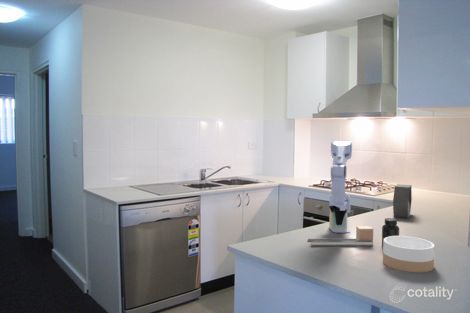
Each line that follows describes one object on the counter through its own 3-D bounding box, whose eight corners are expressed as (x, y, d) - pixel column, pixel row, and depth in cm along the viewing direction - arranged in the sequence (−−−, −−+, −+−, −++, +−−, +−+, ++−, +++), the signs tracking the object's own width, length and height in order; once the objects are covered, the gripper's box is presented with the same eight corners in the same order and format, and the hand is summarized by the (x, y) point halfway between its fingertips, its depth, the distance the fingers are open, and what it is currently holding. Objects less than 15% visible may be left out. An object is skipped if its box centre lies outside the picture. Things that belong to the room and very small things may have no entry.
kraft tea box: (329, 227, 167) (329, 211, 166) (342, 227, 167) (343, 211, 166) (331, 229, 162) (332, 213, 162) (345, 229, 162) (346, 213, 162)
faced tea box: (356, 242, 167) (356, 226, 167) (369, 242, 167) (369, 226, 167) (359, 244, 163) (359, 228, 162) (373, 244, 163) (373, 228, 163)
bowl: (390, 253, 152) (391, 233, 151) (438, 263, 141) (439, 241, 140) (376, 265, 139) (376, 242, 138) (427, 276, 128) (428, 252, 127)
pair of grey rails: (307, 240, 169) (308, 236, 168) (365, 240, 169) (366, 236, 169) (311, 246, 161) (311, 241, 160) (372, 246, 161) (372, 241, 161)
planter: (407, 212, 206) (410, 178, 214) (391, 210, 210) (395, 177, 218) (409, 223, 219) (412, 191, 227) (394, 222, 223) (398, 190, 231)
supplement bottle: (384, 243, 165) (385, 216, 164) (401, 246, 160) (402, 218, 159) (379, 247, 159) (380, 219, 158) (396, 250, 155) (397, 221, 154)
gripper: (352, 195, 156) (352, 227, 157) (342, 190, 171) (341, 219, 172) (335, 195, 156) (335, 227, 157) (326, 190, 171) (326, 219, 172)
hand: (337, 223), depth 164 cm, fingers closed on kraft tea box, 4 cm apart
